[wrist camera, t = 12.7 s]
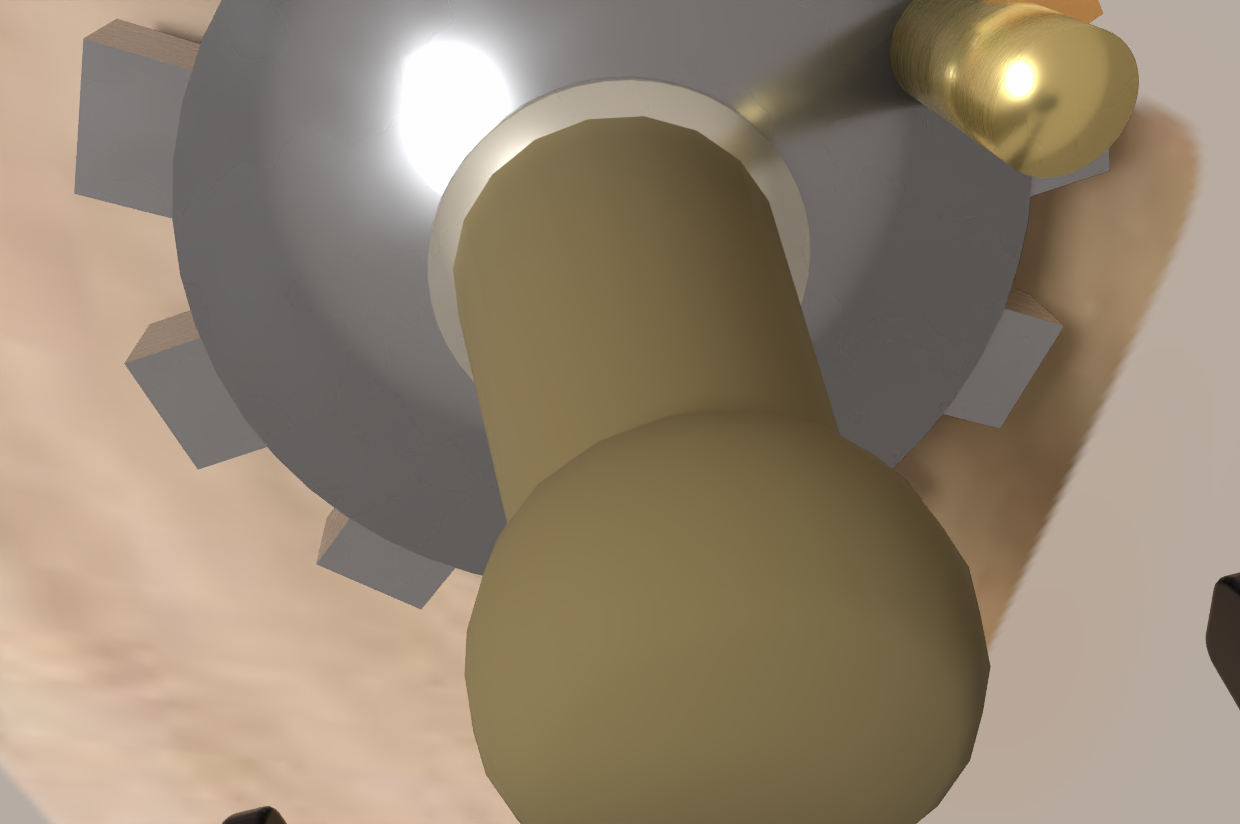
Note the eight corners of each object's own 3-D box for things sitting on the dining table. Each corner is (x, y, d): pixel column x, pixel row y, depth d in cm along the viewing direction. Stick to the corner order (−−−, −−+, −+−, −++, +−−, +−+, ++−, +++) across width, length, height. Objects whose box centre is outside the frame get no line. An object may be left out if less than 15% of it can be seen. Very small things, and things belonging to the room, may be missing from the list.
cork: (843, 198, 17) (1245, 652, 8) (687, 457, 20) (856, 1020, 11) (532, 53, 15) (593, 433, 6) (405, 361, 18) (316, 947, 9)
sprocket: (1175, 300, 22) (1377, 448, 17) (530, 683, 26) (540, 892, 21) (772, -695, 13) (954, -1011, 8) (-116, 139, 17) (-368, 280, 12)
